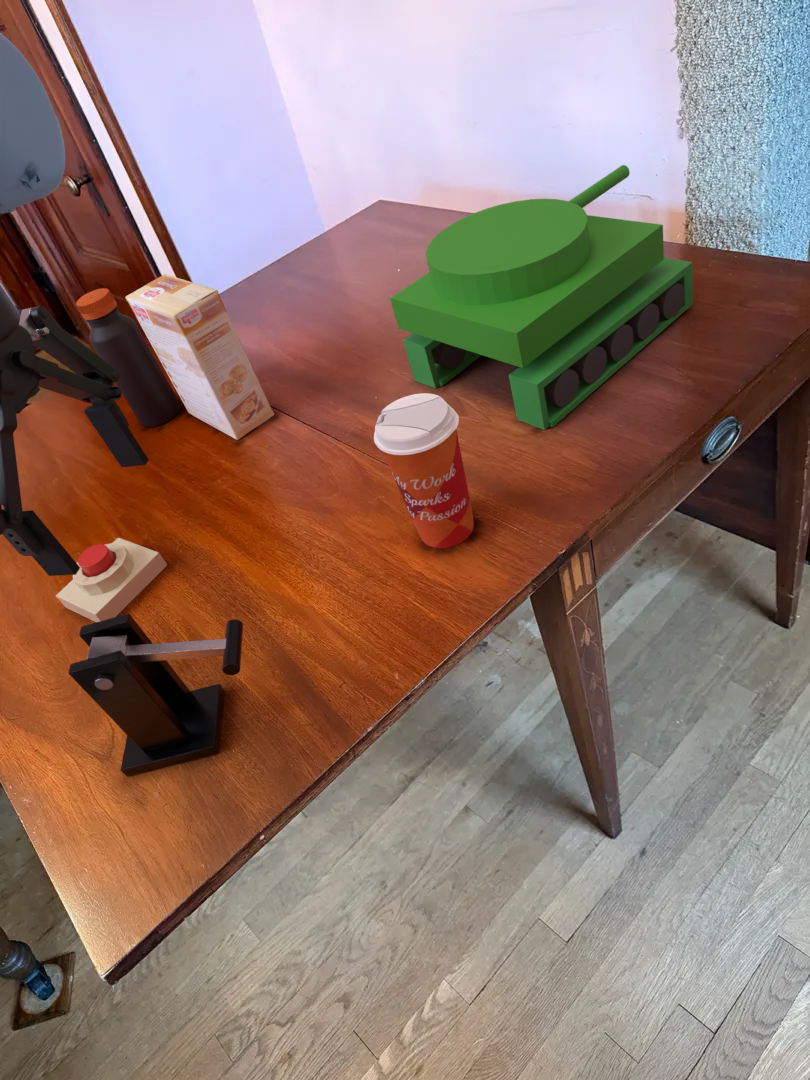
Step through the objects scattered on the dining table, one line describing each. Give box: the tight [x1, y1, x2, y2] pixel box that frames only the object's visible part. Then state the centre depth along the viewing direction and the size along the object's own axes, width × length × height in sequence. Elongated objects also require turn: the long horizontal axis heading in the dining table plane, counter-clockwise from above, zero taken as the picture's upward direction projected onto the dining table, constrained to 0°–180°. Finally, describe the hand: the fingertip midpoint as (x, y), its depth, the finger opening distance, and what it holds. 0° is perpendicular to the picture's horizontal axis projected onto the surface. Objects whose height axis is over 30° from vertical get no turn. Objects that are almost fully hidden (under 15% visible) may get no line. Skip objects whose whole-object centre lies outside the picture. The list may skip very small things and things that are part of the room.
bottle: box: [75, 287, 181, 428], centre depth 109 cm, size 7×7×20 cm
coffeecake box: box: [125, 274, 275, 441], centre depth 104 cm, size 15×7×20 cm, turn 42°
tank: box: [389, 164, 694, 431], centre depth 96 cm, size 24×35×16 cm
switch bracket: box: [67, 613, 225, 778], centre depth 65 cm, size 9×7×14 cm
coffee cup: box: [373, 392, 475, 549], centre depth 75 cm, size 8×8×15 cm
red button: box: [77, 543, 115, 577], centre depth 85 cm, size 4×4×2 cm
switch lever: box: [86, 619, 244, 676], centre depth 62 cm, size 12×5×2 cm, turn 97°
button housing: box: [55, 537, 168, 623], centre depth 87 cm, size 10×8×4 cm
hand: (102, 514), depth 66 cm, fingers open, 13 cm apart
